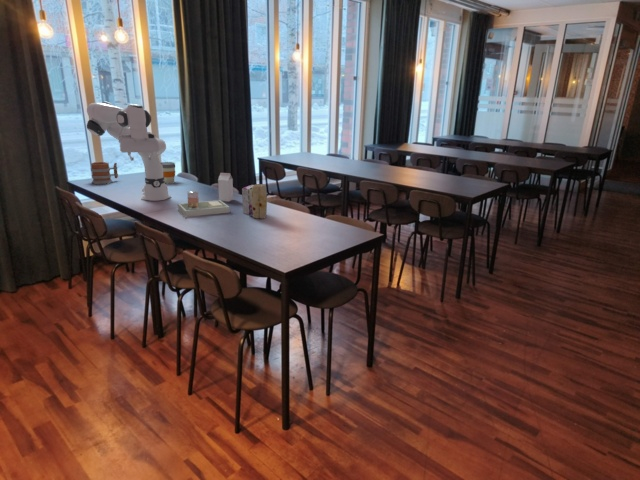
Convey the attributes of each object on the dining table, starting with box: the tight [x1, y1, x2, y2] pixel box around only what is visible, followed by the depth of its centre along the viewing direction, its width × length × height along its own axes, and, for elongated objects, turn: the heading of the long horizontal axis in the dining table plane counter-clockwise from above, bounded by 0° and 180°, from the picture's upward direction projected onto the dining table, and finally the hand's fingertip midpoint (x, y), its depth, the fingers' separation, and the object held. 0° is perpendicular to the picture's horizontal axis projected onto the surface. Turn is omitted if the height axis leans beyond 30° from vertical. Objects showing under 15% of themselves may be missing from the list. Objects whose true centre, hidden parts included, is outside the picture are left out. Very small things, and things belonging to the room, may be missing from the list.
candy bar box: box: [241, 184, 255, 215], centre depth 254 cm, size 11×5×16 cm, turn 160°
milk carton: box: [217, 172, 234, 203], centre depth 280 cm, size 7×7×19 cm
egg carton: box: [208, 200, 223, 208], centre depth 257 cm, size 10×6×4 cm, turn 30°
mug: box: [90, 161, 119, 185], centre depth 324 cm, size 14×19×15 cm
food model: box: [252, 183, 268, 220], centre depth 245 cm, size 10×7×20 cm
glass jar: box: [187, 190, 200, 210], centre depth 250 cm, size 6×6×12 cm
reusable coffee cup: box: [160, 161, 176, 184], centre depth 331 cm, size 13×13×15 cm
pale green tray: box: [177, 199, 231, 220], centre depth 254 cm, size 18×26×4 cm
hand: (141, 160), depth 238 cm, fingers open, 8 cm apart
